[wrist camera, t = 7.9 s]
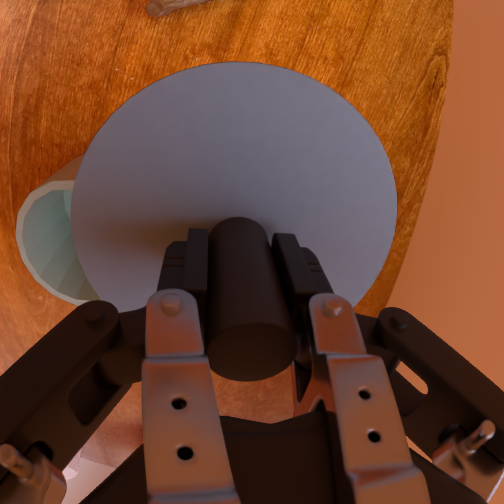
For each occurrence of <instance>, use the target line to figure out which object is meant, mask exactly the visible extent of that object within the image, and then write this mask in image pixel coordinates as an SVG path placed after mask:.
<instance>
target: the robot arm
mask: <svg viewBox="0 0 504 504" xmlns="http://www.w3.org/2000/svg"><path fill="white" fill-rule="evenodd" d="M208 232H209V229H201V228H189V230H188V236H187V241H173V242H172V243H171V244H170V245H169V246H168V247H167V248H166V250H165V255H164V259H163V263H162V268H161V272H160V277H159V281H158V286H157V291H156V292H155V293H154V294H152V295H151V296H150V297H149V299H148V301H147V305H146V306H144V307H142V308H140V309H137V310H132V311H127V312H121V313H119V312H118V310H117V308H116V307H115V306H114V305H113V304H111V303H110V302H107V301H103V300H93V301H88V302H85V303H83V304H81V305H80V306H78V307H77V308H76V309H75V310H73V311H72V312H71V313H70V314H69V315H68V316H66V317H65V318H64V319H63V320H62V321H61V322H59V323H58V324H57V325H56V326H55V327H54V328H53V329H51V330H50V331H49V332H48V333H47V334H46V335H45V336H44V337H42V338H41V339H40V340H39V341H38V342H37V343H36V344H35V345H34V346H32V347H31V348H30V349H29V350H28V351H27V352H26V353H25V354H24V355H23V356H22V357H20V358H19V359H18V360H17V361H16V362H15V363H14V364H13V365H12V366H11V367H10V368H9V369H8V370H7V371H6V372H5V373H4V374H2V375H1V376H0V504H61V502H62V500H63V499H64V496H65V494H66V489H67V485H66V480H65V477H64V475H63V473H62V471H63V470H64V469H65V468H66V466H67V465H68V464H69V463H70V461H71V460H72V459H73V458H74V457H75V455H76V454H77V453H78V452H79V450H80V449H81V448H82V447H83V445H84V444H85V443H86V442H87V440H88V439H89V438H90V437H91V435H92V434H93V433H94V432H95V431H96V429H97V428H98V427H99V426H100V424H101V423H102V422H103V421H104V419H105V418H106V417H107V416H108V415H109V413H110V412H111V411H112V410H113V408H114V407H115V406H116V405H117V403H118V402H119V401H120V400H121V399H122V397H123V396H124V395H125V394H126V392H127V391H128V390H129V389H130V387H131V386H132V384H133V383H135V382H140V381H142V423H143V444H141V445H140V446H139V447H138V448H137V449H136V450H135V451H134V452H133V453H132V454H131V455H130V456H129V457H128V458H127V459H126V460H125V461H124V462H123V463H122V464H121V465H120V466H119V467H118V468H116V470H115V471H113V472H112V473H111V474H110V475H109V476H108V477H107V478H106V479H105V480H104V481H103V482H102V483H101V484H100V485H99V486H97V487H96V488H95V489H94V490H93V491H92V492H91V493H90V494H89V495H88V496H87V497H85V498H84V499H83V500H82V501H81V502H80V503H79V504H488V502H489V500H490V499H491V497H492V496H493V494H494V492H495V490H496V489H497V487H498V485H499V483H500V482H501V480H502V478H503V476H504V392H503V391H502V390H501V389H500V388H499V387H498V386H497V385H495V384H494V383H493V382H492V381H491V380H490V379H489V378H487V377H486V376H485V375H484V374H483V373H482V372H480V371H479V370H478V369H477V368H476V367H474V366H473V365H472V364H471V363H470V362H469V361H467V360H466V359H465V358H464V357H463V356H461V355H460V354H459V353H458V352H457V351H455V350H454V349H453V348H452V347H451V346H449V345H448V344H447V343H446V342H444V341H443V340H442V339H441V338H439V337H438V336H437V335H436V334H435V333H433V332H432V331H431V330H430V329H428V328H427V327H426V326H425V325H423V324H422V323H421V322H420V321H418V320H417V319H416V318H415V317H413V316H412V315H411V314H409V313H408V312H406V311H405V310H402V309H400V308H395V307H388V308H385V309H383V310H381V312H380V314H379V316H378V318H374V317H369V316H364V315H360V314H357V313H355V312H354V309H353V307H352V305H351V304H350V303H349V302H348V301H347V300H346V299H344V298H343V297H341V296H339V295H336V294H334V292H333V289H332V287H331V285H330V283H329V281H328V279H327V277H326V275H325V273H324V272H323V268H322V266H321V265H320V262H319V260H318V258H317V256H316V255H315V254H314V253H313V252H312V251H311V250H310V249H308V248H307V247H300V245H299V243H298V241H297V238H296V236H295V234H291V233H274V234H273V237H272V243H271V250H272V253H273V257H274V260H275V264H276V267H277V271H278V274H279V278H280V281H281V285H282V288H283V292H284V295H285V299H286V302H287V306H288V309H289V313H290V316H291V320H292V324H293V327H294V331H295V334H296V338H297V342H298V351H297V355H296V357H295V359H294V361H293V362H292V363H291V365H290V366H291V379H292V393H293V406H294V412H293V418H290V419H287V420H284V421H281V422H277V423H273V424H268V423H261V422H256V421H250V420H245V419H240V418H235V417H230V416H219V413H218V408H217V403H216V398H215V392H214V387H213V382H212V376H211V371H210V365H209V360H208V357H207V355H205V354H204V348H203V347H204V320H205V315H206V307H207V270H208ZM401 361H402V362H403V363H404V364H405V365H406V366H408V367H409V368H410V369H411V370H412V371H413V372H414V373H416V374H417V375H418V376H419V377H420V378H421V379H422V380H423V381H424V382H425V383H426V384H427V387H428V393H427V394H423V393H421V392H420V391H418V390H417V389H416V388H415V387H414V386H413V385H412V384H411V383H410V382H408V381H407V380H406V379H405V378H404V377H403V376H402V375H401V374H400V373H398V372H397V371H396V370H395V369H396V368H397V366H398V365H399V363H400V362H401ZM405 435H406V436H407V437H408V438H409V439H410V440H412V442H414V443H415V444H416V445H417V446H418V447H419V448H420V449H421V450H422V451H423V452H424V453H425V454H426V455H427V456H428V457H429V458H431V460H432V462H433V464H432V463H431V462H429V461H428V460H426V459H425V458H424V457H422V456H421V455H419V454H418V453H416V452H415V451H414V450H412V449H411V448H409V447H408V444H407V440H406V436H405Z"/></svg>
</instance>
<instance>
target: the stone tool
mask: <svg viewBox="0 0 504 504" xmlns="http://www.w3.org/2000/svg"><path fill="white" fill-rule="evenodd" d="M208 1H212V0H149V2H148V4H147V6H146V8H145V10H146V12H147V13H148V14H149V15H151V16H154V17H155V16H156V17H158V16H164V15H165V16H167V15H169V14H170V13H171V11H172V10H174V9H180V8H183V7H187V6H191V5H198V4H202V3H205V2H208Z"/></svg>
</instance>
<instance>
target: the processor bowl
mask: <svg viewBox="0 0 504 504" xmlns="http://www.w3.org/2000/svg"><path fill="white" fill-rule="evenodd" d="M84 154H85V153H83V154H82V155H80V156H78V157H76V158H74V159H73V160H71V161H70V162H69V163H67V164H66V165H65V166H63V167H62V168H61V169H59V170H58V171H57V172H55V173H54V174H53V175H52V176H50V177H49V178H48V179H46V180H45V181H44V182H43V183H41V184H40V185H39V186H38V187H37V188H35V189H34V190H33V191H32V192H31V193H30V194H29V195H28V197H27V198H26V200H25V202H24V203H23V205H22V207H21V208H20V210H19V212H18V217H17V225H16V240H17V244H18V248H19V252H20V256H21V259H22V261H23V262H24V264H25V265H26V267H27V268H28V270H29V271H30V273H31V274H32V276H33V277H34V279H35V280H36V281H37V282H38V283H39V284H41V285H42V286H43V287H44V288H45V289H46V290H48V291H49V292H50V293H51V294H52V295H54V296H56V297H58V298H60V299H63V300H65V301H67V302H69V303H72V304H74V305H78V306H80V305H81V304H83V303H85V302H88V301H93V300H101V298H100V297H99V296H98V294H97V293H96V292H95V290H94V289H93V287H92V286H91V284H90V282H89V281H88V279H87V277H86V275H85V273H84V271H83V269H82V266H81V264H80V261H79V259H78V256H77V253H76V249H75V245H74V241H73V237H72V227H71V200H72V192H73V188H74V183H75V178H76V174H77V172H78V169H79V166H80V164H81V161H82V158H83V156H84Z"/></svg>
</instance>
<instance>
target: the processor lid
mask: <svg viewBox="0 0 504 504" xmlns="http://www.w3.org/2000/svg"><path fill="white" fill-rule="evenodd" d="M396 218H397V196H396V188H395V181H394V176H393V173H392V169H391V166H390V162H389V159H388V157H387V155H386V152H385V150H384V148H383V146H382V144H381V142H380V140H379V138H378V137H377V135H376V134H375V132H374V131H373V129H372V128H371V126H370V125H369V123H368V122H367V121H366V120H365V118H364V117H363V116H362V115H361V114H360V113H359V112H358V111H357V110H356V109H355V108H354V107H353V106H352V104H350V103H349V102H348V101H347V100H345V99H344V98H343V97H342V96H340V95H339V94H338V93H336V92H335V91H334V90H333V89H331V88H329V87H327V86H326V85H324V84H322V83H320V82H318V81H317V80H315V79H313V78H311V77H309V76H306V75H304V74H301V73H298V72H296V71H293V70H290V69H287V68H284V67H279V66H274V65H269V64H264V63H258V62H235V61H230V62H221V63H212V64H204V65H200V66H196V67H193V68H189V69H185V70H182V71H178V72H176V73H173V74H171V75H169V76H167V77H164V78H162V79H160V80H158V81H156V82H154V83H152V84H150V85H148V86H147V87H145V88H144V89H142V90H141V91H139V92H138V93H136V94H135V95H133V96H132V97H130V98H129V99H128V100H127V101H126V102H125V103H123V104H122V105H121V106H120V107H119V108H118V109H117V110H116V111H115V112H114V113H113V114H112V115H111V116H110V117H109V118H108V119H107V120H106V122H105V123H104V124H103V125H102V127H101V128H100V129H99V130H98V132H97V133H96V134H95V136H94V138H93V139H92V141H91V143H90V145H89V146H88V148H87V150H86V152H85V154H84V156H83V158H82V161H81V164H80V166H79V169H78V172H77V174H76V178H75V183H74V188H73V192H72V200H71V227H72V237H73V241H74V245H75V249H76V253H77V256H78V259H79V261H80V264H81V266H82V269H83V271H84V273H85V275H86V277H87V279H88V281H89V282H90V284H91V286H92V287H93V289H94V290H95V292H96V293H97V294H98V296H99V297H100V298H101V300H103V301H107V302H110V303H111V304H113V305H114V306H115V307H116V308H117V310H118V312H119V313H121V312H127V311H132V310H137V309H140V308H142V307H144V306H146V305H147V301H148V299H149V297H150V296H151V295H152V294H154V293H155V292H156V291H157V286H158V281H159V277H160V272H161V268H162V263H163V259H164V255H165V250H166V248H167V247H168V246H169V245H170V244H171V243H172V242H173V241H187V236H188V230H189V228H201V229H209V232H208V270H207V307H206V315H205V320H204V347H203V348H204V354H205V355H207V357H208V360H209V365H210V369H211V370H212V371H213V372H215V373H216V374H218V375H219V376H221V377H224V378H226V379H230V380H234V381H246V382H248V381H258V380H263V379H267V378H270V377H272V376H275V375H277V374H279V373H280V372H282V371H284V370H285V369H286V368H287V367H289V366H290V365H291V363H292V362H293V361H294V359H295V357H296V355H297V351H298V342H297V338H296V334H295V331H294V327H293V324H292V320H291V316H290V313H289V309H288V306H287V302H286V299H285V295H284V292H283V288H282V285H281V281H280V278H279V274H278V271H277V267H276V264H275V260H274V257H273V253H272V250H271V243H272V237H273V234H274V233H291V234H295V236H296V238H297V241H298V243H299V245H300V247H307V248H308V249H310V250H311V251H312V252H313V253H314V254H315V255H316V256H317V258H318V260H319V262H320V265H321V266H322V268H323V272H324V273H325V275H326V277H327V279H328V281H329V283H330V285H331V287H332V289H333V292H334V294H336V295H339V296H341V297H343V298H344V299H346V300H347V301H348V302H349V303H350V304H351V305H352V307H354V306H355V305H356V304H357V303H358V302H359V300H360V299H361V298H362V297H363V296H364V295H365V293H366V292H367V291H368V289H369V288H370V287H371V285H372V284H373V283H374V281H375V279H376V277H377V276H378V274H379V272H380V271H381V269H382V267H383V265H384V262H385V260H386V258H387V255H388V253H389V250H390V247H391V243H392V240H393V236H394V231H395V224H396Z"/></svg>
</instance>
